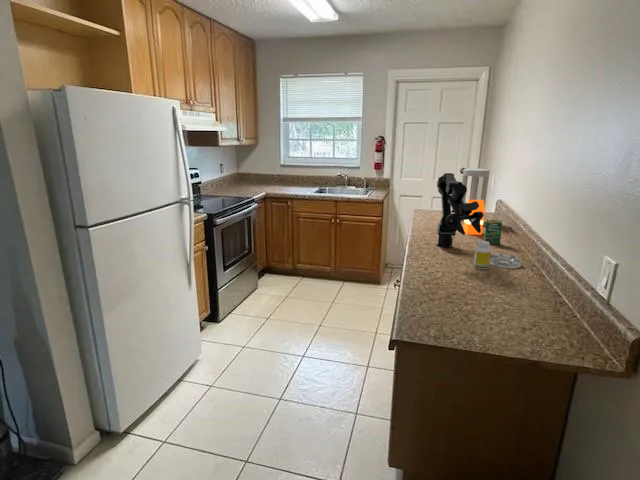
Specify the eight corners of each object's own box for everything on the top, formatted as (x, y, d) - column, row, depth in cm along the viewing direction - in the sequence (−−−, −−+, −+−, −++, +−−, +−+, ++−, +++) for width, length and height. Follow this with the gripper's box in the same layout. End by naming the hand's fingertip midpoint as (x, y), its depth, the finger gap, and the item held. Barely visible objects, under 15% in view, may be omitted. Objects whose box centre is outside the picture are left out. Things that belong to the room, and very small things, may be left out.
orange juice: (481, 234, 230) (486, 201, 224) (466, 234, 230) (470, 200, 225) (477, 231, 237) (481, 198, 232) (462, 231, 238) (466, 198, 232)
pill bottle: (489, 270, 170) (493, 244, 167) (474, 269, 171) (477, 243, 168) (486, 265, 176) (490, 240, 173) (471, 264, 177) (475, 239, 174)
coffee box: (483, 243, 212) (486, 219, 209) (483, 241, 215) (486, 218, 211) (499, 245, 209) (503, 221, 205) (499, 243, 212) (503, 220, 208)
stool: (453, 219, 269) (459, 168, 259) (472, 218, 273) (478, 168, 264) (467, 224, 254) (474, 170, 245) (487, 223, 259) (494, 170, 250)
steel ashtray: (485, 264, 177) (486, 258, 176) (491, 256, 188) (492, 250, 188) (518, 270, 170) (519, 263, 169) (522, 262, 181) (523, 255, 181)
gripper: (451, 196, 174) (466, 225, 167) (483, 194, 181) (499, 222, 174) (438, 210, 183) (452, 238, 176) (469, 208, 190) (483, 235, 183)
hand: (472, 233), depth 177 cm, fingers open, 9 cm apart
